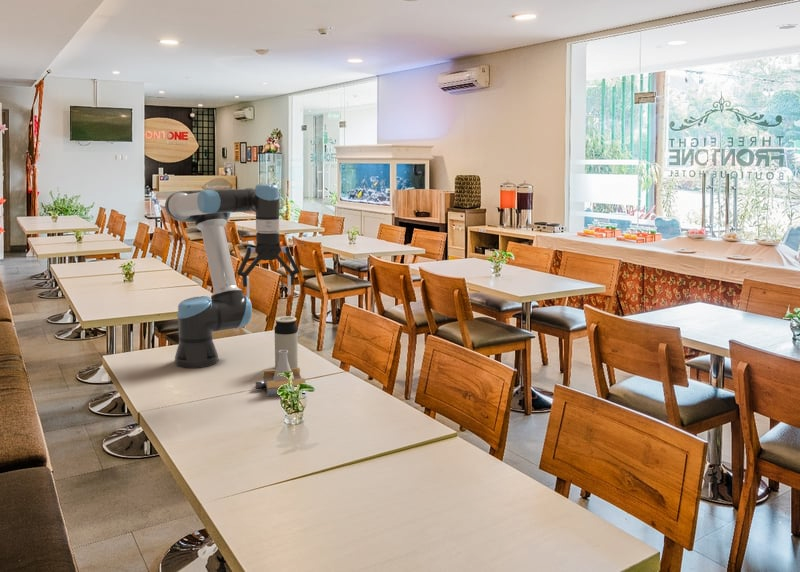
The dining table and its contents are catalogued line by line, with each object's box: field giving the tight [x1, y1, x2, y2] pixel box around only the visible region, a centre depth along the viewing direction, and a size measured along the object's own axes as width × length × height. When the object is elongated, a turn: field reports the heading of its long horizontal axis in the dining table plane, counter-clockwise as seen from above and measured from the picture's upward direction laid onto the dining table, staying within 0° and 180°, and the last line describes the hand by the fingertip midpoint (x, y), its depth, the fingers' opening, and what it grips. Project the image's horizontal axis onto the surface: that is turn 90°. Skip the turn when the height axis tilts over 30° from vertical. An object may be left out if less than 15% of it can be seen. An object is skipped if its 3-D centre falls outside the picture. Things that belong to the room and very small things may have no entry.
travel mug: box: [274, 315, 299, 369], centre depth 245 cm, size 8×8×18 cm
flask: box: [273, 350, 294, 381], centre depth 224 cm, size 7×7×10 cm
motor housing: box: [255, 367, 306, 398], centre depth 224 cm, size 14×15×4 cm
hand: (268, 295), depth 230 cm, fingers open, 13 cm apart
